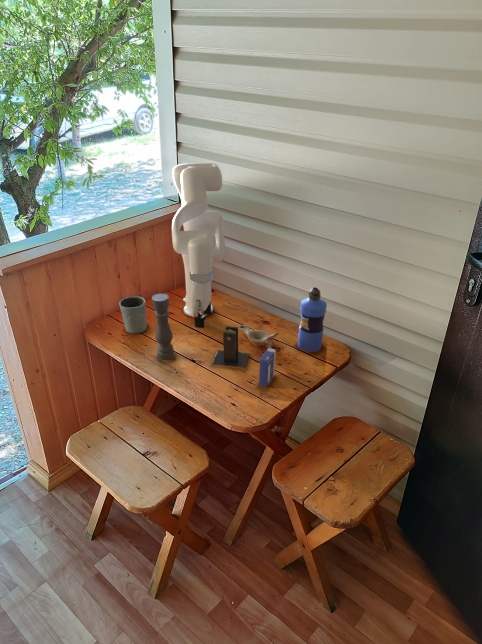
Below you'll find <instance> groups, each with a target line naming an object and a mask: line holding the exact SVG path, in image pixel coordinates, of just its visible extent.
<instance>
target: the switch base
mask: <svg viewBox="0 0 482 644" xmlns="http://www.w3.org/2000/svg"><path fill="white" fill-rule="evenodd" d="M229 329H231V330H233V331H235V332H236V333H233V332H223V333H222V339H223V340H222V341H223V342H222V343H223V347H222V348H223V350H221V349H217V351H216V354H215V356H214V359H213V360H212V365H217V366H218V365H219V366H227V367H237V368H246V365H247V363H248V360H249V356H250V352H249V353H248V352H240V351H239V326H231V325H226V326H225V330H227V331H228V330H229Z"/></svg>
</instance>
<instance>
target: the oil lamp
mask: <svg viewBox="0 0 482 644" xmlns="http://www.w3.org/2000/svg"><path fill="white" fill-rule="evenodd" d="M238 330H239V331H241V333H243V334H244V335H245V336H246V338H247V339H248V341H249V342H250V343H251V345H253V346H255V347H264V348H265V347H266V348H267V349H268V348H272V347H273V344H274V338H275V337H277V336H278V335H279V333H280V332H279V331H276V332H274V333H272V334H270V333H269V332H268V331H265V330H260V329H251V328H250V327H249V326H247V325H243V324H242V325H239V326H238Z"/></svg>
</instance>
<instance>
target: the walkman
mask: <svg viewBox="0 0 482 644" xmlns="http://www.w3.org/2000/svg"><path fill="white" fill-rule="evenodd" d="M276 354H277V350H276V349H274V348H272V347H271V348H267V349H266V351H265V352H264V353H263V355H262V356H261V357H260V359H259V373H258V386H259V387H263V388H267V387H268V386H269V384H270V383H271V382H272V381H273V379H274V377H275V374H276Z"/></svg>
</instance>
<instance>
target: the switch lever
mask: <svg viewBox="0 0 482 644" xmlns="http://www.w3.org/2000/svg"><path fill="white" fill-rule="evenodd" d="M203 317H204V326H206V327H209V328H211V329H214V330H215V331H218V332H220V333H222V334H223V332H233V333H236V332H235V331H233V330H231V329H229V330H228V331H227V330H226V328H225V329H224V328H223V327H221V326H218V325H216V324H215V323H212V322H210V321H207V317H206V316H203Z"/></svg>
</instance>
